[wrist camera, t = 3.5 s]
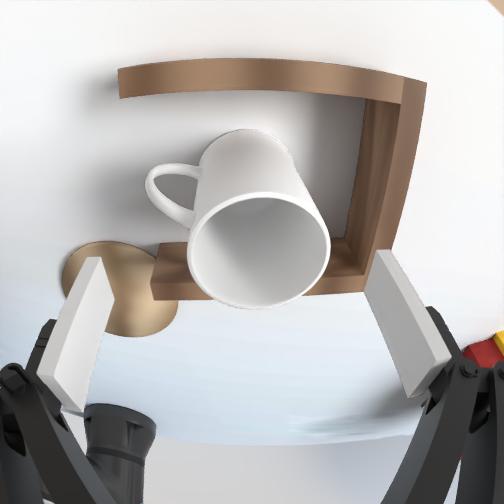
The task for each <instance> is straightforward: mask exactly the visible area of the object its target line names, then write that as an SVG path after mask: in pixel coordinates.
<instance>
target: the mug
mask: <svg viewBox="0 0 504 504" xmlns="http://www.w3.org/2000/svg"><path fill="white" fill-rule="evenodd" d="M164 174H181V175H186V176H190V177H193V178H195V179H197V183H198V185H197V191H196V197H195V202H194V208H193V210H189V209H186V208H184V207H181V206H179V205H178V204H176V203H174V202H173V201H171V200H170V199H168V198H167V197H166V196H164V195H163V194H162V193H161V192H160V191H159V190H158V189H157V187H156V186H155V184H154V181H153V179H154V178H155V177H157V176H160V175H164ZM145 189H146V193H147V195H148V197H149V198H150V200H151V201H152V203H153V204H154V205H155V206H156V207H157V208H158V209H159V210H160V211H162V212H163V213H164V214H166V215H167V216H168V217H170V218H171V219H173V220H175V221H177V222H178V223H180V224H182V225H184V226H185V227H186V228H188V229H189V230H190V232H189V239H188V245H187V262H188V267H189V270H190V273H191V275H192V277H193V279H194V280H195V282H196V283H197V285H198V286H199V287H200V288H201V289H202V290H203V291H204V292H205V293H206V294H207V295H209V296H210V297H212V298H213V299H215V300H217V301H219V302H221V303H223V304H226V305H228V306H232V307H236V308H241V309H267V308H272V307H277V306H280V305H283V304H286V303H288V302H291V301H293V300H295V299H296V298H298V297H300V296H301V295H303V294H304V293H306V292H307V291H308V290H309V289H310V288H312V287H313V286H314V285H315V283H316V282H317V281H318V280H319V279H320V277H321V276H322V274H323V272H324V271H325V269H326V266H327V264H328V261H329V257H330V248H331V245H330V237H329V233H328V230H327V227H326V225H325V223H324V221H323V219H322V217H321V215H320V213H319V211H318V209H317V207H316V205H315V204H314V202H313V200H312V198H311V196H310V194H309V192H308V191H307V189H306V187H305V185H304V183H303V181H302V180H301V178H300V176H299V174H298V172H297V171H296V169H295V164H294V161H293V158H292V156H291V154H290V152H289V151H288V149H287V148H286V147H285V145H284V144H283V143H282V142H280V141H279V140H278V139H277V138H275V137H274V136H272V135H270V134H268V133H265V132H262V131H258V130H249V129H246V130H237V131H233V132H230V133H227V134H225V135H223V136H221V137H219V138H218V139H216V140H215V141H214V142H213V143H212V144H211V145H210V146H209V147H208V148H207V149H206V150H205V152H204V153H203V155H202V157H201V159H200V162H199V165H198V166H193V165H188V164H181V163H166V164H161V165H158V166H156V167H154V168H153V169H151V170H150V172H149V173H148V175H147V177H146V181H145Z"/></svg>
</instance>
